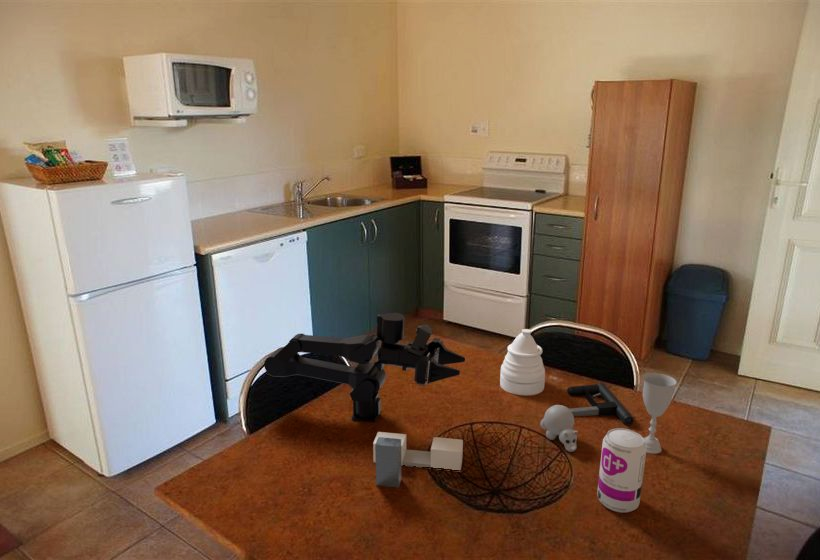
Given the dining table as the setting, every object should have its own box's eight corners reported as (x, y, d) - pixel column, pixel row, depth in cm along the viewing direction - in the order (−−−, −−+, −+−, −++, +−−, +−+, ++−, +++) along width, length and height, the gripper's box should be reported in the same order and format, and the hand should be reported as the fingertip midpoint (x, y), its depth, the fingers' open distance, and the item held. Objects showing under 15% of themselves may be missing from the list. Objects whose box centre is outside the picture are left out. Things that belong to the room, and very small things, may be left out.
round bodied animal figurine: (554, 463, 136) (563, 441, 130) (535, 422, 145) (542, 400, 139) (582, 458, 137) (591, 436, 132) (561, 418, 146) (569, 396, 141)
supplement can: (618, 519, 113) (626, 453, 109) (588, 495, 120) (594, 432, 116) (647, 507, 116) (656, 442, 112) (616, 484, 123) (623, 423, 119)
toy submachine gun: (577, 420, 145) (639, 414, 146) (553, 384, 164) (607, 379, 165) (577, 432, 146) (638, 426, 147) (553, 395, 165) (607, 390, 166)
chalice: (667, 444, 139) (676, 376, 133) (666, 458, 133) (676, 388, 128) (634, 437, 142) (643, 370, 136) (632, 451, 136) (641, 382, 131)
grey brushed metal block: (376, 485, 123) (375, 444, 121) (379, 476, 126) (378, 436, 123) (398, 487, 123) (398, 446, 120) (401, 479, 125) (401, 439, 123)
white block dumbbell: (373, 462, 131) (373, 443, 130) (378, 450, 136) (378, 431, 135) (460, 471, 128) (460, 452, 127) (462, 458, 133) (462, 439, 131)
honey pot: (548, 395, 162) (552, 336, 157) (503, 395, 163) (506, 336, 157) (539, 375, 175) (543, 320, 170) (497, 375, 175) (499, 320, 170)
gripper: (394, 336, 134) (460, 347, 131) (412, 315, 152) (470, 324, 148) (390, 380, 136) (455, 392, 133) (408, 354, 154) (466, 364, 151)
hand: (462, 365), depth 141 cm, fingers open, 9 cm apart
